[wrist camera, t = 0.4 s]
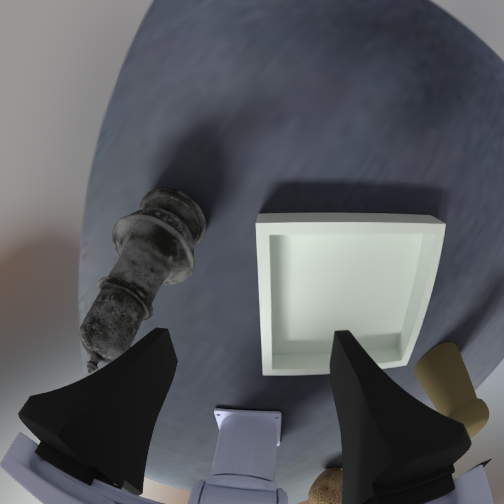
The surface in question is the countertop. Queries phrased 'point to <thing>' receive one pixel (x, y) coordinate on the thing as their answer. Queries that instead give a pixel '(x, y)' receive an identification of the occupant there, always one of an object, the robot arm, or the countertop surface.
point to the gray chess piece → (141, 270)
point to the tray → (343, 285)
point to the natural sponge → (327, 487)
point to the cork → (451, 387)
